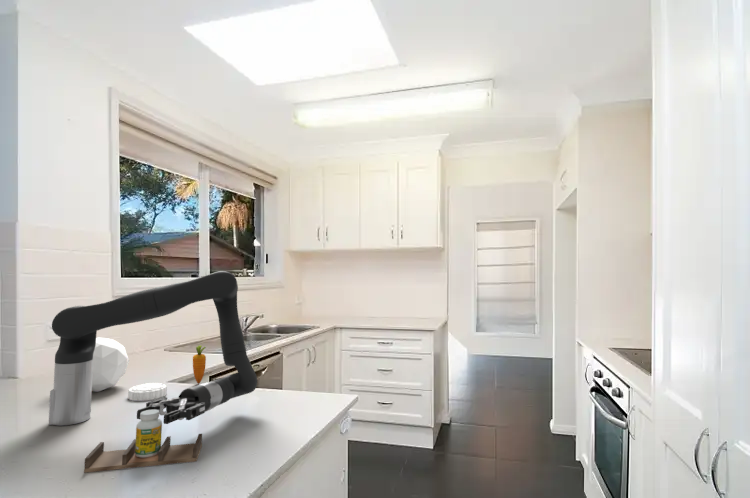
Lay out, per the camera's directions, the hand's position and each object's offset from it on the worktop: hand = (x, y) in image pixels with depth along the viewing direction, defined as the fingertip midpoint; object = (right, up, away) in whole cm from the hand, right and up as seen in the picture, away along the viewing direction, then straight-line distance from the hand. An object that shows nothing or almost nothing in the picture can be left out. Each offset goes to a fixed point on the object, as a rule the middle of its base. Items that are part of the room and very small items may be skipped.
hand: (151, 417), depth 100 cm
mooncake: (-27, -12, +49) cm, 57 cm away
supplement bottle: (0, -8, -1) cm, 8 cm away
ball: (-50, -12, +56) cm, 76 cm away
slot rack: (0, -9, -1) cm, 9 cm away
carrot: (-16, -13, +65) cm, 68 cm away
